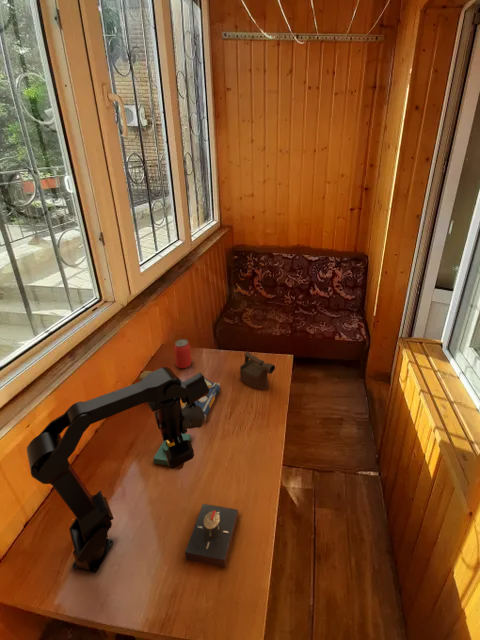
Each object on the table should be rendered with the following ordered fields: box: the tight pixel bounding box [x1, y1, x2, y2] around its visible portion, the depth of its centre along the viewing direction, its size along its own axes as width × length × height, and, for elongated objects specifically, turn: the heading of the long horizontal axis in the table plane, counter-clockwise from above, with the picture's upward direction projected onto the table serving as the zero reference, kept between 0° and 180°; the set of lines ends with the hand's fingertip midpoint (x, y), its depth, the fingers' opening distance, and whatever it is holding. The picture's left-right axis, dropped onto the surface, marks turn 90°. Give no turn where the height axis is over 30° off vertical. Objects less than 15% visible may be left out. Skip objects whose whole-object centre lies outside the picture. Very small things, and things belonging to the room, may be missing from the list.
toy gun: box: [180, 377, 221, 422], centre depth 122 cm, size 21×4×15 cm
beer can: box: [174, 338, 192, 369], centre depth 141 cm, size 7×7×12 cm
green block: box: [153, 433, 192, 467], centre depth 102 cm, size 10×8×4 cm
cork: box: [139, 370, 153, 382], centre depth 124 cm, size 6×6×11 cm
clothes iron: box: [239, 351, 276, 390], centre depth 131 cm, size 8×16×13 cm, turn 48°
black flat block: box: [184, 503, 239, 568], centre depth 80 cm, size 11×10×3 cm
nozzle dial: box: [204, 510, 221, 539], centre depth 79 cm, size 4×4×4 cm
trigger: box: [167, 440, 175, 447], centre depth 102 cm, size 3×3×2 cm
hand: (176, 454), depth 87 cm, fingers open, 9 cm apart
